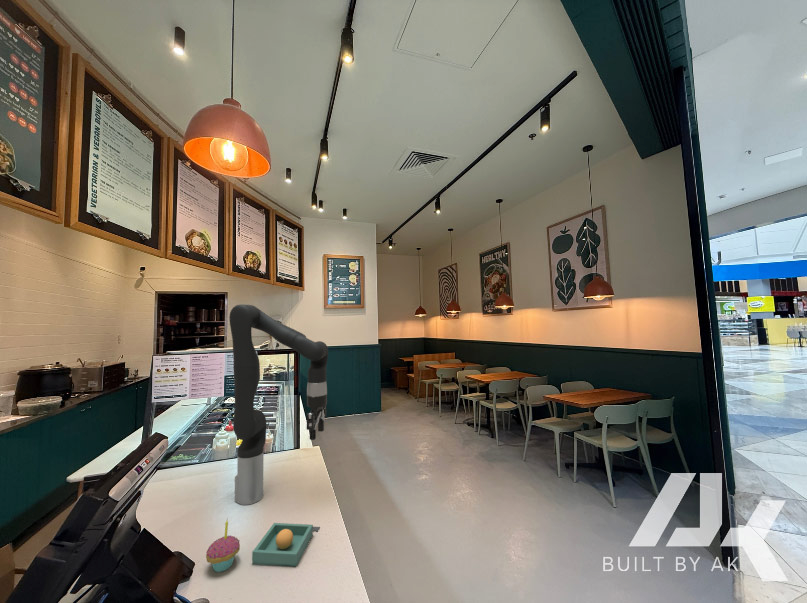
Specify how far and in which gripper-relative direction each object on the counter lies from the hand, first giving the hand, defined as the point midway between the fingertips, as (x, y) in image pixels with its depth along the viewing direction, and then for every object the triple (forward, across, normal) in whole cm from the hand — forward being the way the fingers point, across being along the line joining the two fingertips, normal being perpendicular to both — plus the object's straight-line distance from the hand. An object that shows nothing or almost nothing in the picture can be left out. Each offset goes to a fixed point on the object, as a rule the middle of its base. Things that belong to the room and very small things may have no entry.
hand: (316, 435), depth 127 cm
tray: (+24, +27, 0) cm, 36 cm away
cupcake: (+24, +35, -14) cm, 45 cm away
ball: (+21, +27, 0) cm, 34 cm away
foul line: (+24, +18, 0) cm, 30 cm away
